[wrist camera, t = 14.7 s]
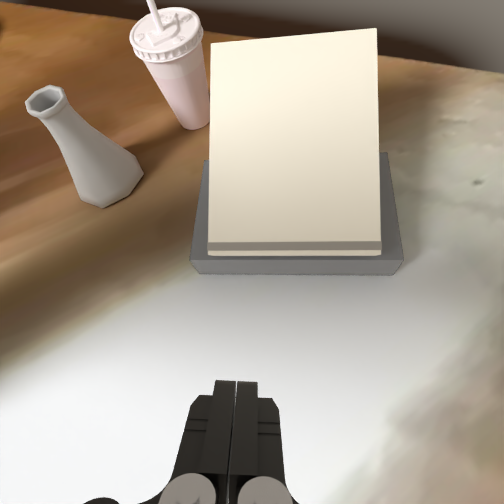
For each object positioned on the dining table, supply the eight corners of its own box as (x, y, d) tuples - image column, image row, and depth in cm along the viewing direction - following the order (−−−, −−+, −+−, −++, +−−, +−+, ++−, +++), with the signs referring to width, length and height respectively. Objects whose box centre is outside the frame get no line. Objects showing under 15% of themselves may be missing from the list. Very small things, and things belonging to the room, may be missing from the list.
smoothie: (159, 135, 36) (86, -9, 24) (180, 95, 39) (124, -55, 26) (212, 142, 35) (164, -7, 22) (231, 100, 37) (197, -56, 25)
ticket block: (199, 273, 28) (189, 260, 26) (212, 180, 33) (204, 160, 30) (393, 275, 26) (403, 260, 23) (379, 175, 30) (387, 152, 28)
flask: (101, 220, 32) (26, 148, 23) (64, 184, 35) (-15, 107, 26) (156, 174, 34) (106, 90, 25) (117, 142, 37) (59, 57, 28)
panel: (207, 254, 24) (210, 43, 25) (212, 256, 25) (215, 57, 26) (382, 254, 22) (377, 27, 23) (376, 255, 23) (372, 43, 24)
